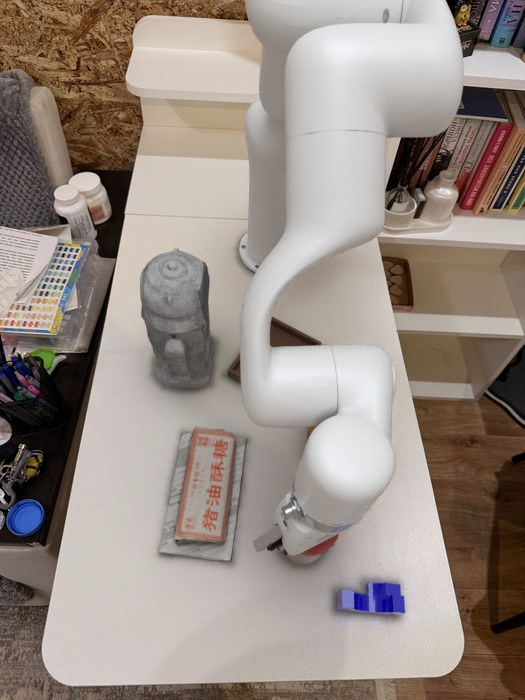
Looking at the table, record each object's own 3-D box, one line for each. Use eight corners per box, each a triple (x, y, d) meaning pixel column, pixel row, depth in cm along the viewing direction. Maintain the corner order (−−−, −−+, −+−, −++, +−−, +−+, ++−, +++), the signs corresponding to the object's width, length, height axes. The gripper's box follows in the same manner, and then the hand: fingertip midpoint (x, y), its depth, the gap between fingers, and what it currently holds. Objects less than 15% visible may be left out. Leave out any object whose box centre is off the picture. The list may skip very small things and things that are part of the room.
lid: (338, 559, 63) (340, 556, 62) (280, 554, 63) (281, 551, 62) (337, 500, 67) (340, 497, 65) (283, 496, 67) (284, 492, 65)
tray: (267, 321, 92) (268, 314, 90) (319, 348, 89) (321, 342, 87) (227, 376, 85) (227, 370, 84) (282, 407, 83) (283, 401, 81)
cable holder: (395, 586, 70) (403, 583, 66) (396, 615, 68) (405, 613, 65) (337, 581, 70) (342, 577, 66) (336, 609, 68) (342, 607, 65)
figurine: (216, 327, 90) (210, 225, 69) (210, 399, 83) (201, 311, 62) (161, 324, 90) (137, 221, 69) (150, 397, 83) (120, 307, 61)
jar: (293, 508, 75) (300, 490, 66) (332, 532, 73) (344, 516, 65) (271, 548, 72) (276, 534, 64) (311, 573, 70) (321, 562, 62)
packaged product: (180, 420, 76) (247, 428, 76) (183, 433, 80) (246, 440, 80) (154, 548, 66) (230, 557, 66) (159, 554, 71) (231, 562, 71)
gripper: (268, 568, 47) (260, 589, 63) (421, 489, 52) (379, 526, 67) (235, 495, 51) (235, 532, 66) (382, 426, 55) (350, 476, 71)
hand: (308, 529), depth 66 cm, fingers closed on lid, 7 cm apart
